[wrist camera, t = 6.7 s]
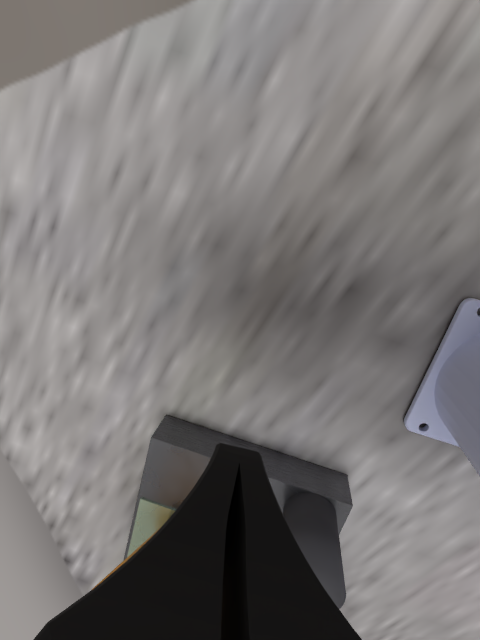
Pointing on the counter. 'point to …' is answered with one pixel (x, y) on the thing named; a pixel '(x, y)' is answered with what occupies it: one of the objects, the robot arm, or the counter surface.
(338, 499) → the grey flat block
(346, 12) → the counter surface
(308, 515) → the post
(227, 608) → the robot arm
